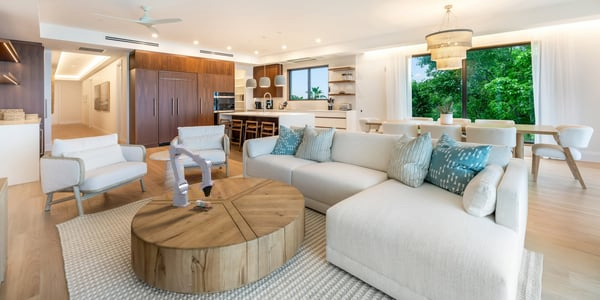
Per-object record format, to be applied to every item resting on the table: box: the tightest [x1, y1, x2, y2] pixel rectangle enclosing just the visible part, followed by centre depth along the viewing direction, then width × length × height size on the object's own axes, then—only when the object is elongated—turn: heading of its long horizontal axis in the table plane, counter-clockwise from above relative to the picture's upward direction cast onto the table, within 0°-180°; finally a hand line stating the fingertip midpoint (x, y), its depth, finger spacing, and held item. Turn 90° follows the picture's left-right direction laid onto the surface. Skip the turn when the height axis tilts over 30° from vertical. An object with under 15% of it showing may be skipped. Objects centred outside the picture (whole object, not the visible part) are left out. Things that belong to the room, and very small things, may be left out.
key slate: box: [200, 200, 207, 207], centre depth 207 cm, size 3×3×3 cm
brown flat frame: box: [193, 205, 214, 212], centre depth 207 cm, size 12×7×1 cm, turn 72°
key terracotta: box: [205, 201, 212, 207], centre depth 205 cm, size 3×3×3 cm
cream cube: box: [195, 199, 202, 206], centre depth 208 cm, size 3×3×3 cm
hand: (207, 196), depth 204 cm, fingers closed
